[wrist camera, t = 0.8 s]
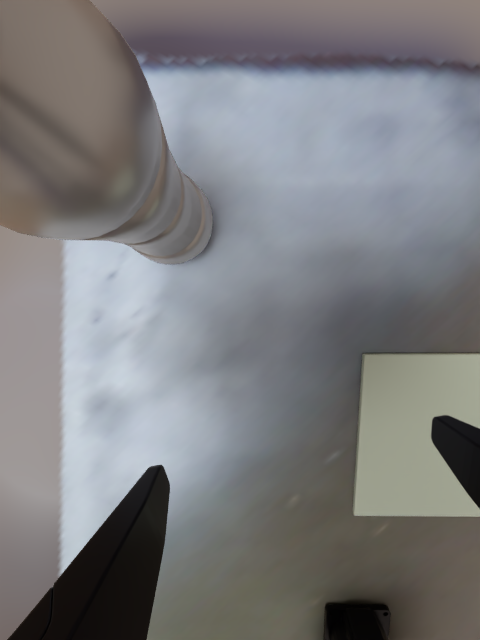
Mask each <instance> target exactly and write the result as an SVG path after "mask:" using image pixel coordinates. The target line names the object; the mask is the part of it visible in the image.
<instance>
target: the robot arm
mask: <svg viewBox="0 0 480 640" xmlns="http://www.w3.org/2000/svg"><path fill="white" fill-rule="evenodd" d="M431 439H432V442H433V444H434V446H435V447H436V449H437V450H438V452H439V453H440V454H441V456H442V457H443V459H444V460H445V462H446V463H447V465H448V466H449V468H450V469H451V471H452V472H453V474H454V475H455V477H456V478H457V480H458V481H459V482H460V484H461V485H462V487H463V488H464V490H465V491H466V492H467V494H468V495H469V496H470V498H471V499H472V500H473V501H474V503H475V504H476V505H477V506H478V508H479V509H480V429H479V428H477V427H475V426H472V425H470V424H468V423H465V422H463V421H461V420H458V419H456V418H454V417H451V416H448V415H442V416H436V417H434V418H433V419H432V428H431ZM169 493H170V484H169V480H168V478H167V475H166V472H165V469H164V467H163V466H162V465H156V466H151V467H149V468H148V469H147V470H146V472H145V473H144V474H143V475H142V477H141V478H140V479H139V480H138V481H137V483H136V484H135V485H134V486H133V488H132V489H131V490H130V491H129V492H128V494H127V495H126V496H125V497H124V499H123V500H122V501H121V502H120V504H119V505H118V506H117V507H116V508H115V510H114V511H113V512H112V513H111V515H110V516H109V517H108V518H107V519H106V521H105V522H104V523H103V524H102V526H101V527H100V528H99V529H98V531H97V532H96V533H95V534H94V535H93V537H92V538H91V539H90V540H89V542H88V543H87V544H86V545H85V546H84V548H83V549H82V550H81V551H80V553H79V554H78V555H77V556H76V558H75V559H74V560H73V561H72V562H71V564H70V565H69V566H68V567H67V569H66V570H65V571H64V572H63V573H62V575H61V576H60V577H59V578H58V580H57V581H56V582H55V583H54V586H53V587H52V588H50V589H49V591H48V592H47V593H46V594H45V595H44V597H43V598H42V599H41V600H40V602H39V603H38V604H37V605H36V606H35V608H34V609H33V610H32V611H31V612H30V614H29V615H28V616H27V617H26V618H25V620H24V621H23V622H22V623H21V624H20V626H19V627H18V628H17V629H16V630H15V631H14V633H13V634H12V635H11V636H10V637H9V638H8V639H7V640H146V639H147V634H148V628H149V623H150V618H151V613H152V607H153V602H154V597H155V592H156V586H157V581H158V576H159V571H160V565H161V560H162V555H163V549H164V543H165V534H166V524H167V514H168V503H169ZM390 615H391V614H390V611H389V609H388V607H387V606H385V605H327V606H326V607H325V622H324V640H388V635H389V625H390Z"/></svg>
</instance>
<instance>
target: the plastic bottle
mask: <svg viewBox="0 0 480 640" xmlns="http://www.w3.org/2000/svg"><path fill="white" fill-rule="evenodd" d="M0 225H1V226H3V227H6V228H8V229H11V230H13V231H16V232H18V233H22V234H27V235H31V236H37V237H41V238H51V239H58V240H103V241H112V242H117V243H122V244H126V245H128V246H130V247H132V248H133V249H134V250H135V251H137V252H138V253H140V254H141V255H143V256H145V257H146V258H148V259H150V260H152V261H155V262H157V263H162V264H180V263H184V262H186V261H189V260H191V259H193V258H194V257H196V256H197V255H199V254H200V253H201V252H202V251H203V250H204V249H205V247H206V245H207V244H208V242H209V239H210V237H211V233H212V227H213V215H212V211H211V206H210V204H209V202H208V199H207V197H206V196H205V194H204V193H203V191H202V190H201V189H200V188H199V187H198V186H197V185H196V184H195V183H194V182H193V181H192V180H191V179H190V178H189V177H188V176H186V175H185V174H184V173H183V172H182V171H181V170H180V169H179V168H178V166H177V164H176V162H175V160H174V158H173V156H172V154H171V152H170V150H169V147H168V143H167V140H166V137H165V133H164V130H163V127H162V123H161V120H160V117H159V113H158V110H157V107H156V103H155V100H154V98H153V96H152V93H151V91H150V88H149V86H148V83H147V81H146V78H145V76H144V74H143V72H142V69H141V67H140V65H139V63H138V60H137V58H136V56H135V54H134V53H133V51H132V50H131V48H130V47H129V45H128V44H127V42H126V41H125V39H124V38H123V36H122V35H121V33H120V32H119V31H118V30H117V29H116V28H115V27H114V26H113V25H112V23H111V22H110V21H109V20H108V19H107V18H106V17H105V16H104V15H103V14H102V13H101V12H100V11H99V10H98V9H97V7H96V6H95V5H94V4H93V3H92V2H91V1H90V0H0Z"/></svg>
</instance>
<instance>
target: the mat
mask: <svg viewBox="0 0 480 640" xmlns="http://www.w3.org/2000/svg"><path fill="white" fill-rule="evenodd" d="M442 415H448V416H451V417H454V418H456V419H458V420H461V421H463V422H465V423H468V424H470V425H472V426H475V427H477V428H479V429H480V353H392V354H362V369H361V385H360V400H359V416H358V431H357V447H356V463H355V478H354V494H353V509H352V513H353V515H354V516H472V517H480V509H479V508H478V506H477V505H476V504H475V503H474V501H473V500H472V499H471V498H470V496H469V495H468V494H467V492H466V491H465V490H464V488H463V487H462V485H461V484H460V482H459V481H458V480H457V478H456V477H455V475H454V474H453V472H452V471H451V469H450V468H449V466H448V465H447V463H446V462H445V460H444V459H443V457H442V456H441V454H440V453H439V452H438V450H437V449H436V447H435V446H434V444H433V442H432V439H431V428H432V419H433V418H434V417H436V416H442Z"/></svg>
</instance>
